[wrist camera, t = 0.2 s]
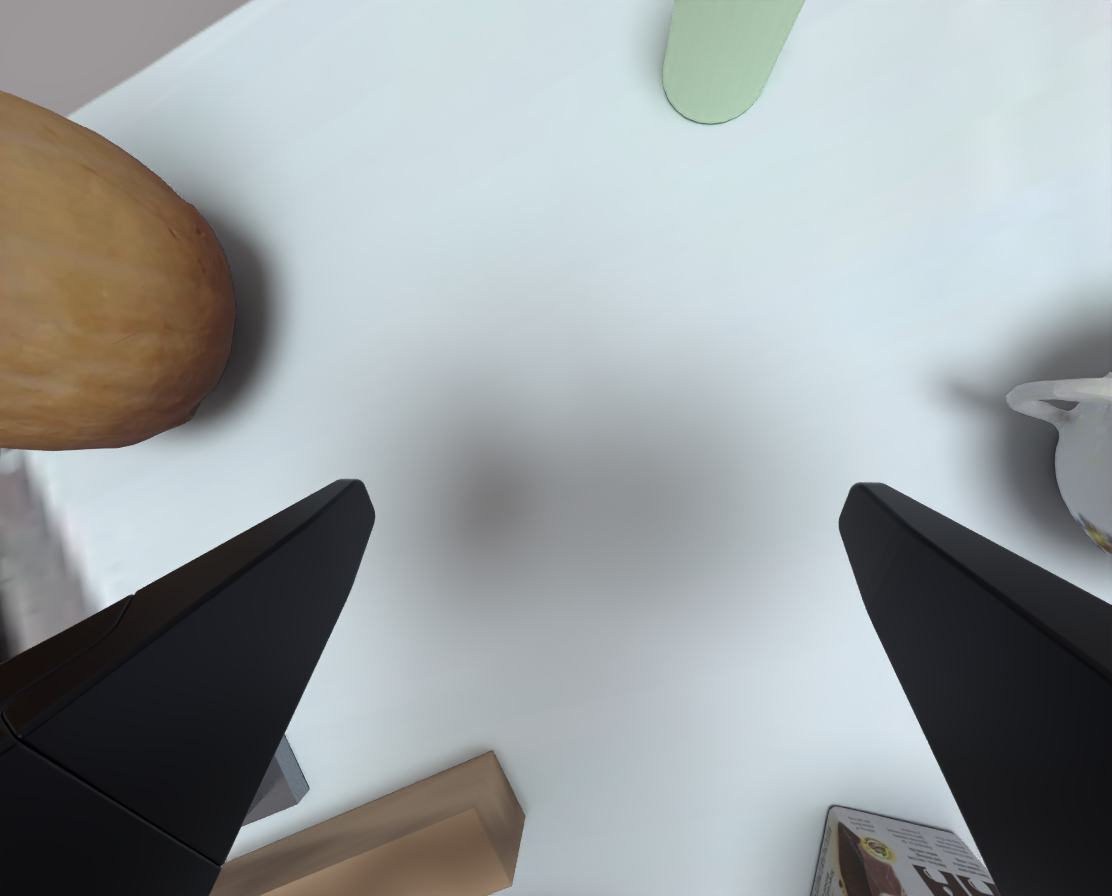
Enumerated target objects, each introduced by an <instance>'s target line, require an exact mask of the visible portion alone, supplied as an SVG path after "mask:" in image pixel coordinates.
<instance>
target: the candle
mask: <svg viewBox="0 0 1112 896" xmlns="http://www.w3.org/2000/svg"><path fill="white" fill-rule="evenodd" d="M804 2H805V0H675V3H674V9H673V15H672V20H671V26H670V31H669V37H668V43H667V48H666V54H665V60H664V65H663V71H662V76H663V87H664V89H665V92H666V95H667V97H668V99H669V101H670V102H671V104H672V105H673V106H674V108H675V109H676V110H677V111H678V112H680V113H681V114H682V115H684V116H685V117H686V118H689V119H691V120H694V121H696V122H701V123H710V124H713V123H719V122H726V121H728V120H730V119H733V118H735V117H737V116H739V115H740V114H742V113H743V112H744V111H746V110H747V109H748V108H750V107H751V105H752V104H753V103H754V102H755V101H756V99H757V98H758V97H759V95H760V93H761V91H762V89H763V87H764V85H765V83H766V81H767V79H768V77H769V75H770V73H771V70H772V68H773V66H774V64H775V62H776V60H777V58H778V56H779V54H780V52H781V50H782V48H783V45H784V43H785V41H786V39H787V37H788V35H789V33H790V31H791V29H792V27H793V25H794V23H795V20H796V18H797V16H798V14H799V12H800V10H801V8H802V6H803V4H804Z"/></svg>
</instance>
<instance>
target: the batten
mask: <svg viewBox="0 0 1112 896" xmlns="http://www.w3.org/2000/svg"><path fill="white" fill-rule="evenodd" d="M524 820H525V815H524V813H523V811H522V809H521V807H520V805H519V803H518V801H517V798H516V796H515V794H514V792H513V790H512V788H511V786H510V784H509V782H508V780H507V778H506V776H505V774H504V772H503V770H502V768H501V766H500V764H499V762H498V760H497V758H496V756H495V754H494V752H493V750H492V751H490V752H488V753H485V754H483V755H481V756H478V757H476V758H474V759H471V760H469V761H466V762H464V763H462V764H459V765H457V766H455V767H452V768H450V769H447V770H445V771H443V772H440V773H438V774H436V775H433V776H431V777H428V778H426V779H424V780H421V781H419V782H417V783H414V784H412V785H410V786H407V787H405V788H402V789H400V790H398V791H395V792H393V793H391V794H388V795H386V796H383V797H381V798H379V799H376V800H374V801H372V802H369V803H367V804H364V805H362V806H360V807H357V808H355V809H353V810H350V811H348V812H346V813H343V814H341V815H338V816H336V817H334V818H331V819H329V820H327V821H324V822H322V823H319V824H317V825H315V826H312V827H310V828H308V829H305V830H303V831H300V832H298V833H296V834H293V835H291V836H289V837H286V838H284V839H281V840H279V841H277V842H274V843H272V844H270V845H267V846H265V847H263V848H260V849H258V850H255V851H253V852H251V853H248V854H246V855H244V856H241V857H239V858H236V859H234V860H232V861H229V862H227V863H225V864H224V865H223V866H222V870H221V872H220V874H219V876H218V878H217V881H216V883H215V885H214V887H213V889H212V891H211V894H210V896H487V895H490V894H492V893H495V892H497V891H500V890H503V889H505V888H508V887H510V886H512V883H513V878H514V873H515V868H516V862H517V857H518V852H519V847H520V841H521V836H522V831H523V826H524Z"/></svg>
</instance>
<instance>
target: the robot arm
mask: <svg viewBox="0 0 1112 896" xmlns="http://www.w3.org/2000/svg"><path fill="white" fill-rule="evenodd" d="M374 522H375V511H374V508H373V505H372V503H371V500H370V497H369V495H368V492H367V490H366V487H365V485H364V483H363V482H362V481H361V480H359V479H339V480H337V481H335V482H333V483H331V484H329V485H328V486H326V487H324V488H322V489H320V490H319V491H317V492H315V493H313V494H311V495H310V496H308V497H306V498H304V499H302V500H301V501H299V502H297V503H295V504H293V505H292V506H290V507H288V508H286V509H284V510H282V511H281V512H279V513H277V514H275V515H273V516H272V517H270V518H268V519H266V520H264V521H263V522H261V523H259V524H257V525H255V526H254V527H252V528H250V529H248V530H246V531H245V532H243V533H241V534H239V535H237V536H236V537H234V538H232V539H230V540H228V541H227V542H225V543H223V544H221V545H219V546H217V547H216V548H214V549H212V550H210V551H208V552H207V553H205V554H203V555H201V556H199V557H198V558H196V559H194V560H192V561H190V562H189V563H187V564H185V565H183V566H181V567H180V568H178V569H176V570H174V571H172V572H171V573H169V574H167V575H165V576H163V577H162V578H160V579H158V580H156V581H154V582H152V583H151V584H149V585H147V586H145V587H143V588H142V589H140V590H138V591H137V592H136V593H135V595H129V596H127V597H125V598H123V599H122V600H120V601H118V602H116V603H114V604H113V605H111V606H109V607H107V608H105V609H104V610H102V611H100V612H98V613H96V614H94V615H92V616H91V617H89V618H87V619H85V620H83V621H81V622H79V623H78V624H76V625H74V626H72V627H70V628H68V629H66V630H65V631H63V632H61V633H59V634H57V635H55V636H53V637H51V638H49V639H47V640H45V641H43V642H42V643H40V644H38V645H36V646H34V647H32V648H30V649H28V650H26V651H24V652H22V653H20V654H18V655H16V656H14V657H12V658H10V659H8V660H6V661H4V662H2V663H0V896H210V894H211V891H212V889H213V887H214V885H215V883H216V881H217V878H218V876H219V874H220V872H221V870H222V867H221V866H222V865H223V864H224V863H225V860H226V858H227V856H228V854H229V852H230V850H231V848H232V845H233V843H234V841H235V839H236V837H237V835H238V833H239V830H240V828H241V826H242V824H243V822H244V820H245V817H246V815H247V813H248V811H249V809H250V807H251V805H252V802H253V800H254V798H255V796H256V794H257V792H258V790H259V787H260V785H261V783H262V781H263V779H264V777H265V774H266V772H267V770H268V768H269V766H270V764H271V762H272V759H273V757H274V755H275V753H276V751H277V749H278V747H279V744H280V742H281V740H282V738H283V736H284V734H285V731H286V729H287V727H288V725H289V723H290V721H291V719H292V716H293V714H294V712H295V710H296V708H297V706H298V704H299V701H300V699H301V697H302V695H303V693H304V691H305V688H306V686H307V684H308V682H309V680H310V678H311V676H312V673H313V671H314V669H315V667H316V665H317V663H318V661H319V658H320V656H321V654H322V652H323V650H324V648H325V645H326V643H327V641H328V639H329V637H330V635H331V633H332V630H333V628H334V626H335V624H336V622H337V620H338V618H339V615H340V613H341V611H342V609H343V607H344V605H345V602H346V600H347V598H348V596H349V593H350V591H351V588H352V586H353V583H354V581H355V578H356V575H357V572H358V569H359V566H360V563H361V560H362V557H363V554H364V551H365V548H366V546H367V543H368V540H369V537H370V534H371V531H372V528H373V525H374ZM839 531H840V534H841V537H842V540H843V543H844V546H845V549H846V552H847V555H848V558H849V561H850V564H851V567H852V570H853V573H854V576H855V579H856V582H857V585H858V588H859V591H860V594H861V597H862V600H863V602H864V605H865V608H866V610H867V613H868V615H869V617H870V619H871V622H872V624H873V626H874V628H875V630H876V632H877V635H878V637H879V639H880V641H881V643H882V645H883V647H884V650H885V652H886V654H887V656H888V658H889V660H890V662H891V664H892V667H893V669H894V671H895V673H896V675H897V677H898V679H899V682H900V684H901V686H902V688H903V690H904V692H905V694H906V696H907V699H908V701H909V703H910V705H911V707H912V709H913V711H914V714H915V716H916V718H917V720H918V722H919V724H920V726H921V728H922V731H923V733H924V735H925V737H926V739H927V741H928V743H929V745H930V748H931V750H932V752H933V754H934V756H935V758H936V760H937V763H938V765H939V767H940V769H941V771H942V773H943V775H944V777H945V780H946V782H947V784H948V786H949V788H950V790H951V792H952V795H953V797H954V799H955V801H956V803H957V805H958V807H959V809H960V812H961V814H962V816H963V818H964V820H965V822H966V824H967V827H968V829H969V831H970V833H971V835H972V837H973V839H974V841H975V844H976V846H977V848H978V850H979V852H980V854H981V856H982V859H983V861H984V863H985V865H986V867H987V869H988V871H989V873H990V876H991V878H992V880H993V882H994V884H995V886H996V888H997V891H998V893H999V895H1000V896H1112V605H1111V604H1109V603H1107V602H1105V601H1103V600H1101V599H1099V598H1098V597H1096V596H1094V595H1092V594H1090V593H1088V592H1086V591H1084V590H1083V589H1081V588H1079V587H1077V586H1075V585H1073V584H1071V583H1069V582H1068V581H1066V580H1064V579H1062V578H1060V577H1058V576H1056V575H1054V574H1053V573H1051V572H1049V571H1047V570H1045V569H1043V568H1041V567H1039V566H1038V565H1036V564H1034V563H1032V562H1030V561H1028V560H1026V559H1024V558H1023V557H1021V556H1019V555H1017V554H1015V553H1013V552H1011V551H1009V550H1008V549H1006V548H1004V547H1002V546H1000V545H998V544H996V543H994V542H993V541H991V540H989V539H987V538H985V537H983V536H981V535H979V534H978V533H976V532H974V531H972V530H970V529H968V528H966V527H964V526H963V525H961V524H959V523H957V522H955V521H953V520H951V519H949V518H948V517H946V516H944V515H942V514H940V513H938V512H936V511H934V510H933V509H931V508H929V507H927V506H925V505H923V504H921V503H919V502H918V501H916V500H914V499H912V498H910V497H908V496H906V495H904V494H903V493H901V492H899V491H897V490H895V489H893V488H891V487H889V486H888V485H886V484H883V483H867V482H859V483H856V484H854V485H853V486H852V487H851V489H850V491H849V494H848V496H847V499H846V501H845V504H844V507H843V509H842V512H841V514H840V517H839Z"/></svg>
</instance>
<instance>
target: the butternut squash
mask: <svg viewBox="0 0 1112 896" xmlns="http://www.w3.org/2000/svg"><path fill="white" fill-rule="evenodd" d="M235 320H236V308H235V298H234V290H233V284H232V279H231V273H230V267H229V264H228V261H227V258H226V255H225V252H224V249H223V248H222V246H221V244H220V242H219V241H218V239H217V237H216V235H215V233H214V232H213V230H212V228H211V227H210V225H209V224H208V223H207V222H206V220H205V219H204V218H203V217H202V216H201V214H200V213H199V212H198V211H197V210H196V208H195V207H194V206H193V205H191V204H189V203H187V202H186V201H184V200H183V199H182V198H181V197H180V196H179V195H178V194H177V193H175V192H174V191H173V190H172V189H171V188H170V187H169V186H168V185H167V184H166V183H165V182H164V181H163V180H162V179H161V178H160V177H159V176H157V175H156V174H155V173H153V172H152V171H151V170H150V169H148V168H147V167H146V166H145V165H144V164H142V163H141V162H140V161H138V160H137V159H136V158H134V157H133V156H131V155H130V154H129V153H127V152H126V151H124V150H123V149H121V148H120V147H118V146H117V145H115V144H114V143H112V142H111V141H109V140H107V139H106V138H104V137H103V136H101V135H99V134H98V133H96V132H94V131H92V130H90V129H88V128H86V127H83V126H81V125H79V124H77V123H75V122H72V121H70V120H68V119H66V118H64V117H62V116H60V115H59V114H56V113H54V112H52V111H51V110H48V109H46V108H43V107H41V106H39V105H36V104H33V103H31V102H29V101H27V100H24V99H22V98H19V97H17V96H15V95H12V94H9V93H6V92H3V91H0V448H9V449H25V450H42V451H63V450H82V449H100V448H121V447H125V446H130V445H134V444H137V443H140V442H142V441H145V440H147V439H149V438H151V437H153V436H155V435H157V434H159V433H162V432H164V431H167V430H169V429H172V428H174V427H177V426H180V425H182V424H184V423H186V422H187V421H189V420H190V419H192V417H193V415H194V414H195V412H196V410H197V408H198V406H199V404H200V403H201V401H202V400H203V399H204V398H205V397H206V396H207V395H208V394H210V393H211V392H212V391H213V390H214V389H215V388H216V387H217V385H218V384H219V381H220V379H221V377H222V374H223V371H224V368H225V366H226V363H227V361H228V358H229V356H230V353H231V348H232V339H233V332H234V326H235Z"/></svg>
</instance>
